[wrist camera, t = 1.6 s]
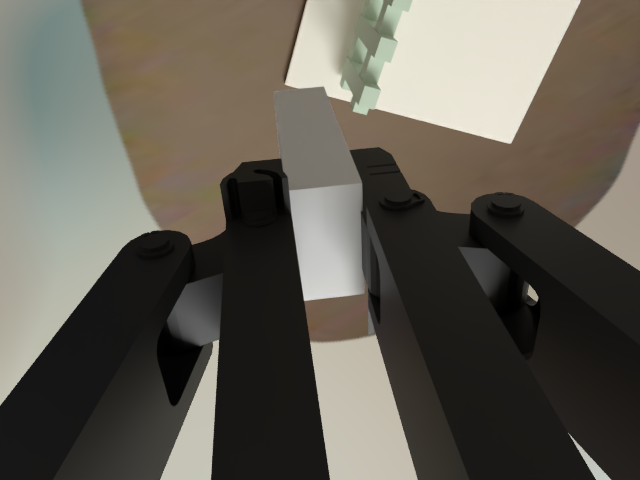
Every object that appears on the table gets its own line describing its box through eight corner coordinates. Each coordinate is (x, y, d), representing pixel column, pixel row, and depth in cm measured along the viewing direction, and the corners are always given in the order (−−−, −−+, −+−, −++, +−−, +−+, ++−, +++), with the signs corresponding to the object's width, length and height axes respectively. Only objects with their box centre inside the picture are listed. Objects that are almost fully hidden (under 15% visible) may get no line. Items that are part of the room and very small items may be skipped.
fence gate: (393, -94, 34) (423, -91, 28) (408, -89, 34) (442, -85, 28) (338, 82, 39) (354, 116, 33) (352, 86, 39) (370, 120, 33)
